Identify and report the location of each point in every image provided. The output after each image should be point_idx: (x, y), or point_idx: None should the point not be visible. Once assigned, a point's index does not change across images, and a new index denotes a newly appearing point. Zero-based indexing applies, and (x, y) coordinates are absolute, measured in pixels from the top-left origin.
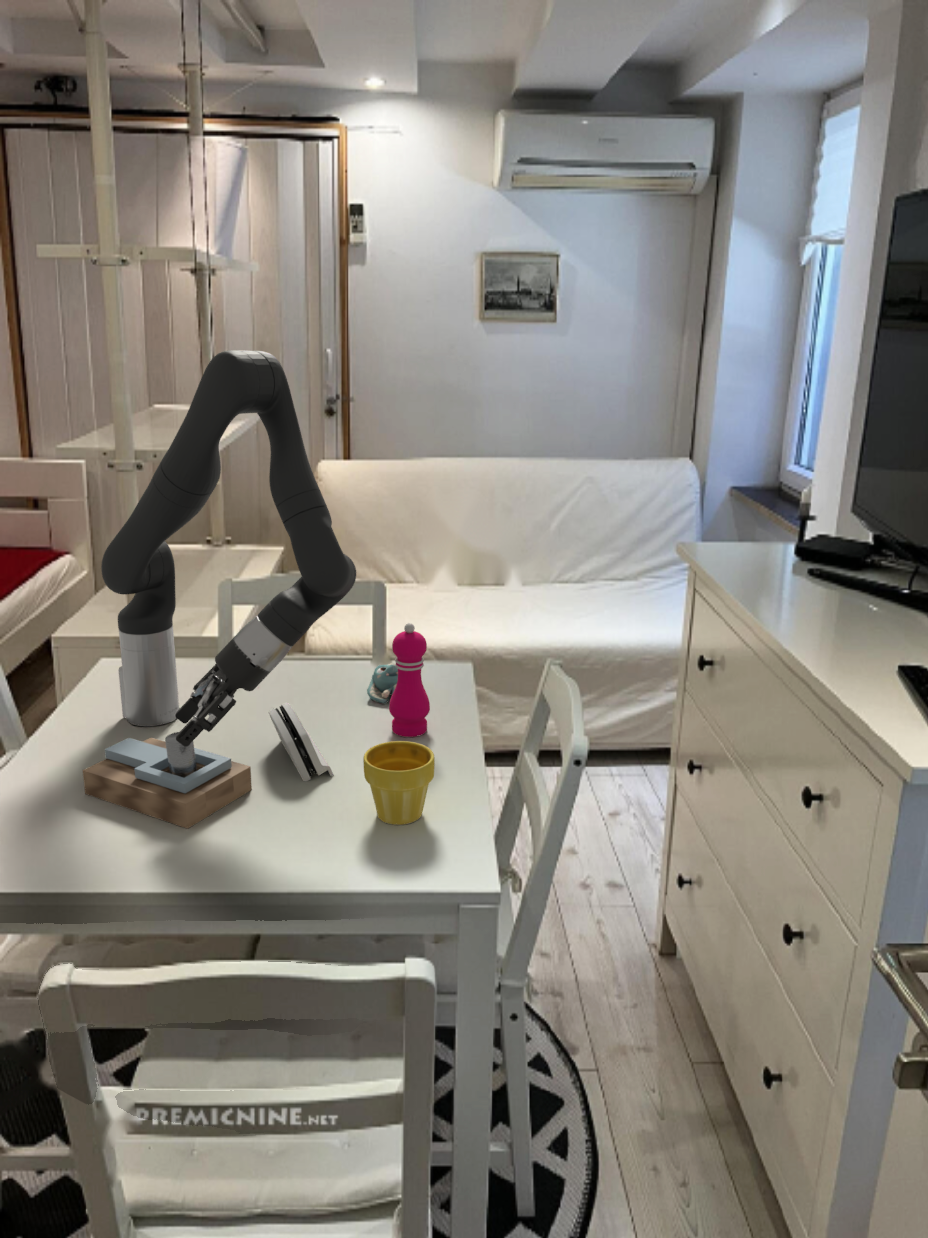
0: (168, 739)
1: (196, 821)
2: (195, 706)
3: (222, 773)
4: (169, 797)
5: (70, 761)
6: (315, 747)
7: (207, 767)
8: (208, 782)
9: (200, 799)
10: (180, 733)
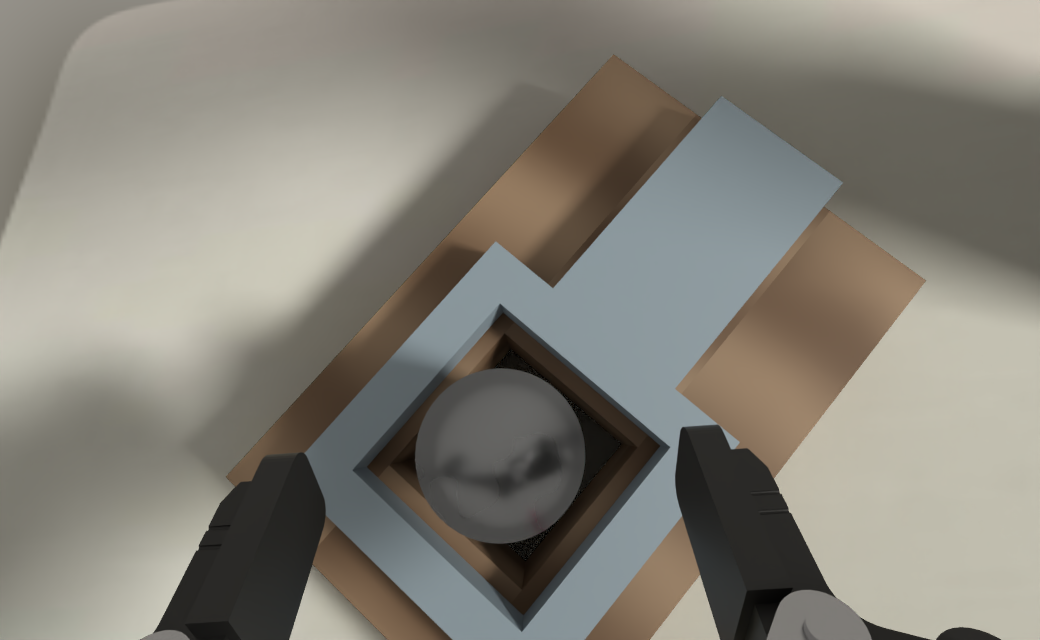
0: (481, 389)
1: None
2: (723, 610)
3: None
4: (298, 406)
5: (868, 28)
6: None
7: (440, 583)
8: None
9: None
10: (250, 493)
